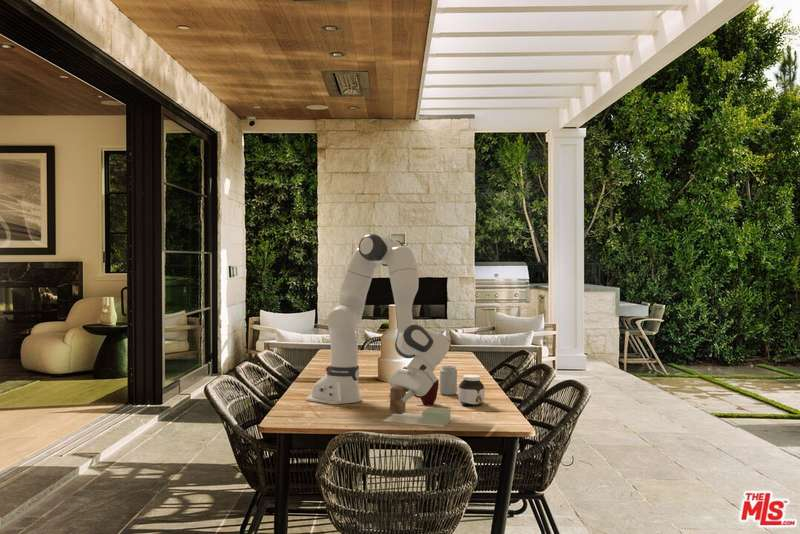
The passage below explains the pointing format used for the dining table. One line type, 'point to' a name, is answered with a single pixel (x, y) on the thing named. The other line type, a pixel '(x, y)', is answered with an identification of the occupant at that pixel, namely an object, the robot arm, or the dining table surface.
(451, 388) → the can
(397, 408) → the pillar
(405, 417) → the tile
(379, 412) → the dining table surface
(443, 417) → the base block
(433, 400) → the mug
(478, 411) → the dining table surface
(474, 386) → the spread jar
